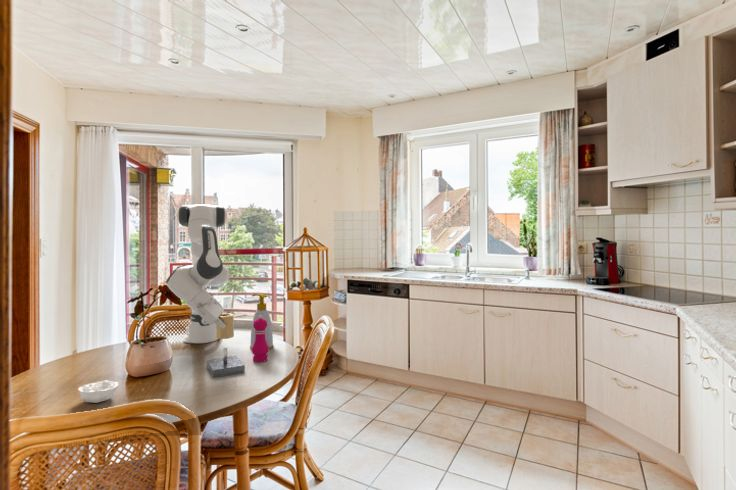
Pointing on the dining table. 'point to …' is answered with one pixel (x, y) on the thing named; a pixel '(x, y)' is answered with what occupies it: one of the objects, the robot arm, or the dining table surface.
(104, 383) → the cell model
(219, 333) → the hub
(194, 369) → the dining table surface
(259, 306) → the soap bottle
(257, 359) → the pepper mill
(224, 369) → the shaft block
